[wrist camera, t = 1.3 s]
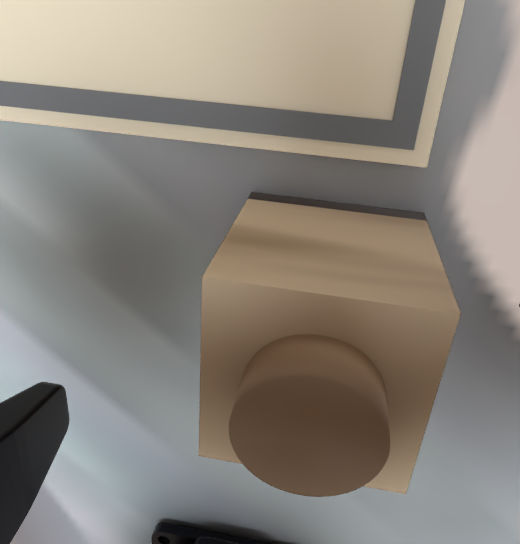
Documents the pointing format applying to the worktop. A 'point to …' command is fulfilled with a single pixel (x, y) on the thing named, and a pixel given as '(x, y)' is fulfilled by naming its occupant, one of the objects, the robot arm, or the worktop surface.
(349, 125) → the cream square plate
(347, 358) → the stamp
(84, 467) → the worktop surface
